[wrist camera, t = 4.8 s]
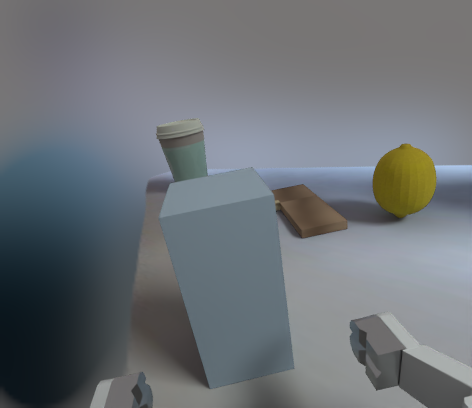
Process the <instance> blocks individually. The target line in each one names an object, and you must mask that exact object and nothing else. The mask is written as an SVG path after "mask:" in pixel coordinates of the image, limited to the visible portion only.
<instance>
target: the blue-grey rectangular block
mask: <svg viewBox="0 0 472 408" xmlns="http://www.w3.org/2000/svg"><path fill="white" fill-rule="evenodd" d="M159 221H160V224H161V228H162V231H163V234H164V237H165V241H166V244H167V247H168V251H169V254H170V257H171V261H172V264H173V267H174V271H175V274H176V277H177V281H178V284H179V287H180V290H181V294H182V297H183V300H184V304H185V307H186V310H187V314H188V317H189V320H190V324H191V327H192V330H193V334H194V337H195V340H196V344H197V347H198V350H199V353H200V357H201V360H202V363H203V367H204V370H205V373H206V377H207V380H208V383H209V387H210V389H213V388H217V387H221V386H225V385H229V384H233V383H237V382H241V381H245V380H249V379H253V378H258V377H262V376H266V375H270V374H274V373H278V372H282V371H286V370H290V369H294V361H293V352H292V344H291V335H290V327H289V318H288V310H287V301H286V293H285V284H284V275H283V267H282V258H281V250H280V241H279V233H278V224H277V216H276V207H275V198H274V194H273V193H272V191H271V190H270V189H269V188H268V186H267V185H266V184H265V183H264V181H263V180H262V179H261V178H260V176H259V175H258V174H257V173H256V171H255V170H254V169H253V168H252V167H251V168H246V169H241V170H236V171H231V172H226V173H220V174H215V175H210V176H205V177H200V178H195V179H190V180H185V181H180V182H174V183H170V184H169V187H168V190H167V193H166V197H165V200H164V203H163V206H162V209H161V212H160V215H159Z"/></svg>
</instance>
